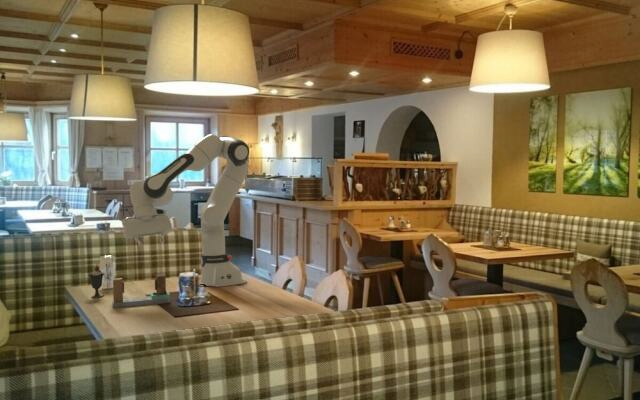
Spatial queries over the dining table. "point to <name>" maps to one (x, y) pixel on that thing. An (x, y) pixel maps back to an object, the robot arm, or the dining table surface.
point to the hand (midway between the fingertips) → (151, 244)
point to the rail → (138, 301)
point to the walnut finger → (160, 284)
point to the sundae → (96, 281)
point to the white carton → (107, 270)
